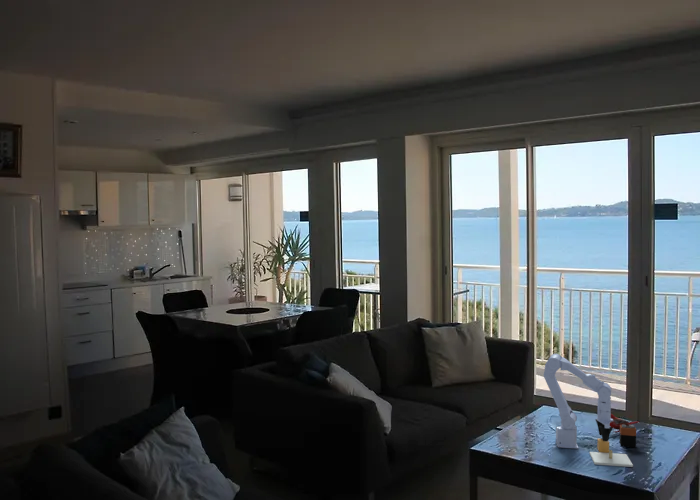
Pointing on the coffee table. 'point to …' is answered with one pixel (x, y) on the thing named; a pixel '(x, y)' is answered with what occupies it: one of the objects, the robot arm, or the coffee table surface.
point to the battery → (628, 435)
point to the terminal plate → (610, 459)
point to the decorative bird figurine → (619, 423)
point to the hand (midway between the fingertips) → (603, 438)
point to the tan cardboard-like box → (602, 445)
